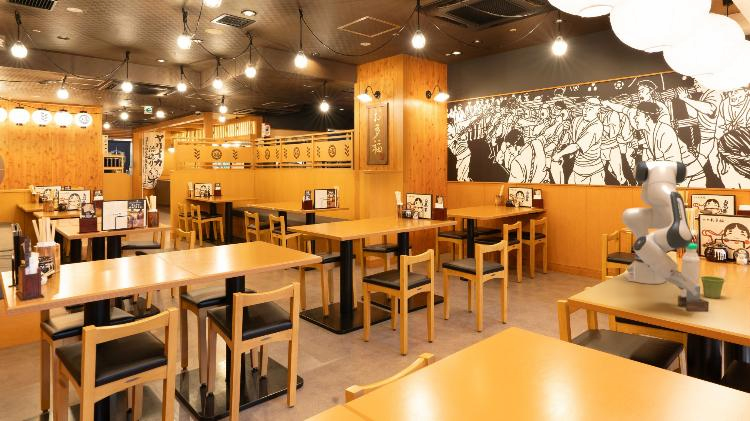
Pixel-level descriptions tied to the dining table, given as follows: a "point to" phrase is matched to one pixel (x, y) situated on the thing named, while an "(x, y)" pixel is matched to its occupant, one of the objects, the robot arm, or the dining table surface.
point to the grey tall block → (693, 297)
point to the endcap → (693, 304)
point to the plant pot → (712, 286)
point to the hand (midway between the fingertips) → (689, 291)
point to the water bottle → (690, 266)
